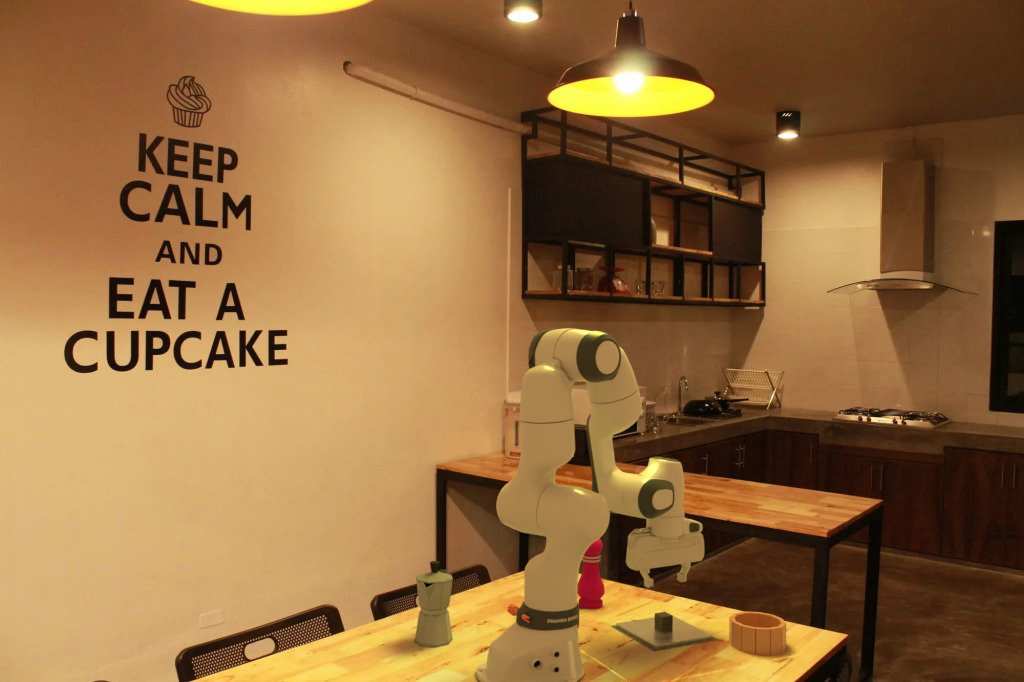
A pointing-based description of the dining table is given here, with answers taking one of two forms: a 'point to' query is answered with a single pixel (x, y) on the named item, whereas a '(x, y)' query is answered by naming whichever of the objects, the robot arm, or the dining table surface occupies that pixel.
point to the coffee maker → (434, 607)
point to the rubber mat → (664, 647)
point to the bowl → (757, 633)
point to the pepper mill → (591, 578)
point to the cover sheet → (663, 631)
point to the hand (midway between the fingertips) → (665, 583)
